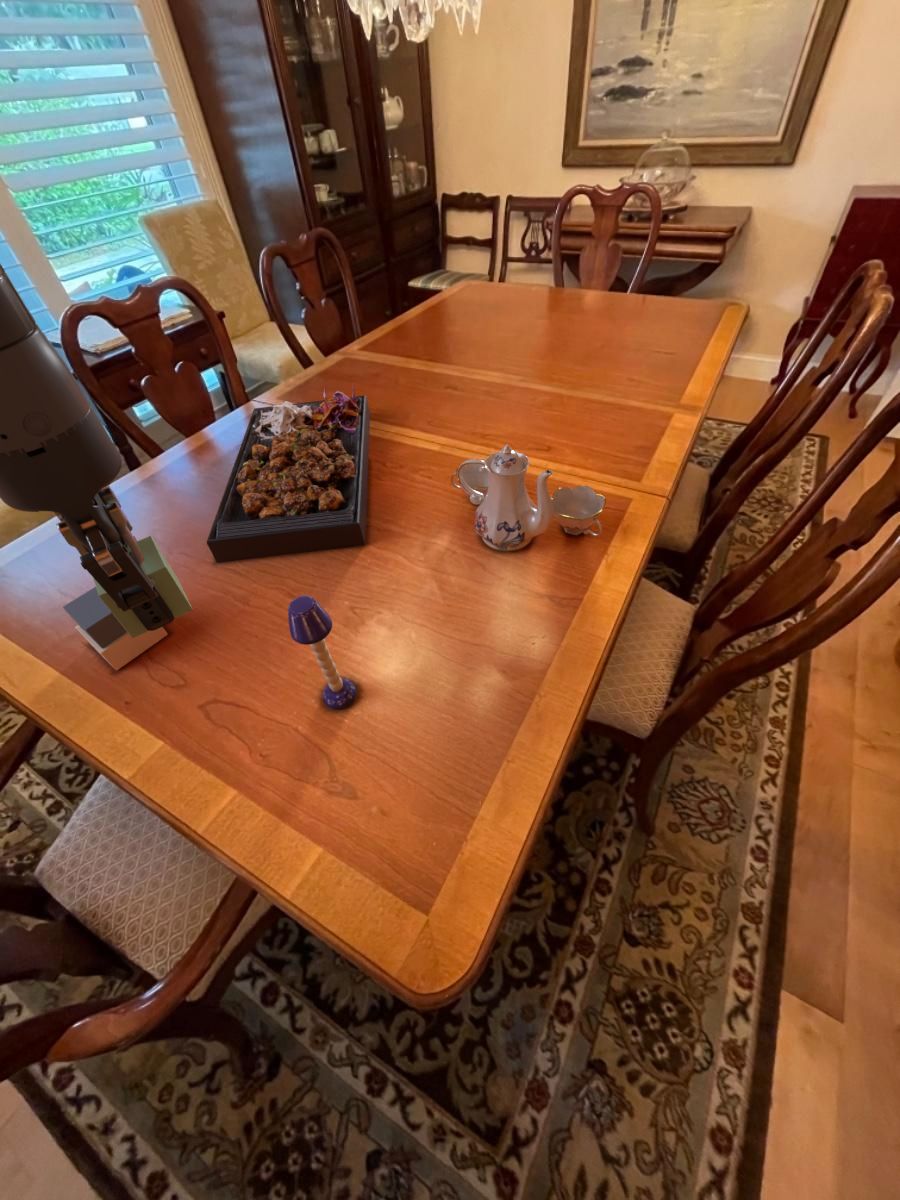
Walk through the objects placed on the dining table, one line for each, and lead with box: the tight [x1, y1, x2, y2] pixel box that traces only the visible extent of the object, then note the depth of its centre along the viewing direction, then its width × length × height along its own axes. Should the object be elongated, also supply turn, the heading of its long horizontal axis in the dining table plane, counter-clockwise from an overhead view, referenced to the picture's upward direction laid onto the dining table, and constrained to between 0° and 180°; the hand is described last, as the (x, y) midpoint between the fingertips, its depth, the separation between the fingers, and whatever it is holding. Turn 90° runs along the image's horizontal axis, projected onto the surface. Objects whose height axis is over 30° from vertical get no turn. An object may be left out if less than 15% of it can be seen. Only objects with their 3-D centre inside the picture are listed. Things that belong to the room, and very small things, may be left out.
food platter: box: [206, 382, 371, 563], centre depth 100 cm, size 45×25×10 cm, turn 5°
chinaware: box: [450, 444, 607, 553], centre depth 83 cm, size 28×17×17 cm, turn 62°
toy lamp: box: [287, 595, 357, 710], centre depth 62 cm, size 5×5×17 cm
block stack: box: [62, 586, 168, 671], centre depth 75 cm, size 8×8×8 cm
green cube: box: [92, 535, 194, 638], centre depth 44 cm, size 5×5×5 cm
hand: (153, 603), depth 45 cm, fingers closed on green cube, 5 cm apart
